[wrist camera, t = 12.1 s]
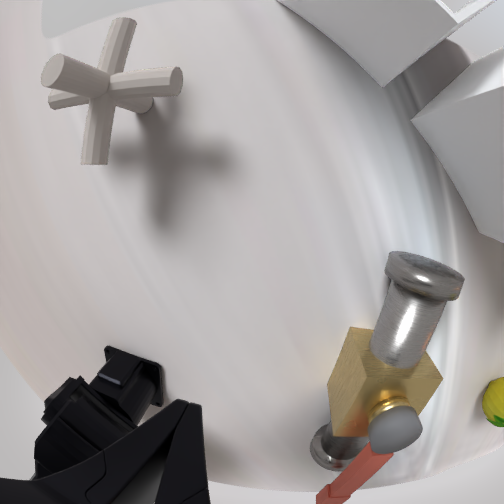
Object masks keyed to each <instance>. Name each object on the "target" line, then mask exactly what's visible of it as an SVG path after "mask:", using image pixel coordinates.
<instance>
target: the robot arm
mask: <svg viewBox="0 0 504 504" xmlns="http://www.w3.org/2000/svg"><path fill="white" fill-rule="evenodd" d="M104 352H105V357H106V364H105V365H104V366H103V367H102V368H101V369H100V370H99V372H98V373H97V376H96V377H95V378H94V379H93V380H92V381H91V383H90V384H89V385H88V384H87V383H86V382H85V381H84V379H83V378H82V377H81V376H79V377H78V378H77V379H73V378H71V377H69V378H68V379H67V380H66V381H65V383H64V384H63V385H62V386H61V387H59V388H58V389H57V390H56V391H55V392H54V393H52V394H51V395H50V396H49V397H48V398H47V399H46V400H45V401H44V403H45V411H44V415H43V417H42V418H41V420H42V421H43V422H44V423H45V424H46V425H47V426H46V428H45V429H44V430H43V431H42V433H41V434H40V435H39V436H38V438H37V439H36V441H35V449H34V459H35V473H34V475H33V476H32V477H31V479H30V480H15V479H7V478H0V504H210V497H209V490H208V480H207V471H206V460H205V448H204V435H203V420H202V406H201V405H199V404H195V403H189V402H188V401H185V400H181V399H176V400H175V401H173V402H172V403H171V404H169V405H168V406H167V407H165V408H164V409H163V410H161V411H160V412H158V413H157V414H156V415H154V416H153V417H151V418H150V419H149V420H147V421H146V422H144V423H143V424H142V425H140V426H139V427H138V426H137V425H138V424H139V422H140V420H141V419H142V417H143V415H144V413H145V412H146V410H147V408H148V407H149V405H150V404H152V405H155V406H158V407H161V406H162V405H163V392H162V378H161V366H160V365H159V364H158V363H156V362H153V361H149V360H146V359H144V358H141V357H138V356H135V355H132V354H129V353H127V352H124V351H121V350H119V349H116V348H113V347H111V346H106V347H105V348H104ZM155 367H156V368H155ZM154 502H155V503H154Z"/></svg>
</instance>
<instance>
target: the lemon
mask: <svg viewBox="0 0 504 504" xmlns="http://www.w3.org/2000/svg"><path fill="white" fill-rule="evenodd" d="M482 408H483V411H484V413H485V415H486V416H487V418H488V419H487V418H486V419H487V420H488V421H489V422H490V423H492V424H493V425H495V426H497V427H504V377H501V378H499V379H497V380H495V381H491V382H490V383H489V386H488V389H487V390H486V392H485V394H484V396H483V401H482Z"/></svg>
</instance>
